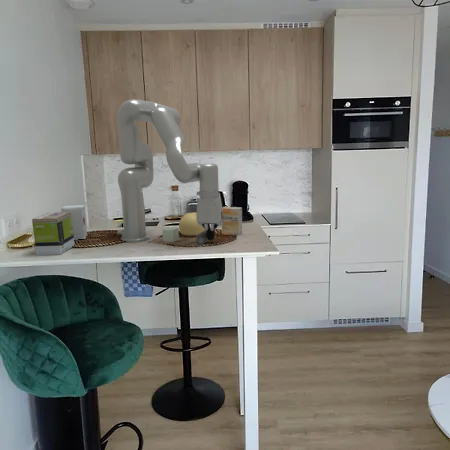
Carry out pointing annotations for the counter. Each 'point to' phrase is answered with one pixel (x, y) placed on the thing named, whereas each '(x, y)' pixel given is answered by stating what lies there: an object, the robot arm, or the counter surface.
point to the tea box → (53, 233)
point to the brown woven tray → (185, 240)
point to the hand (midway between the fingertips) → (210, 239)
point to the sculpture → (190, 225)
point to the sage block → (170, 234)
